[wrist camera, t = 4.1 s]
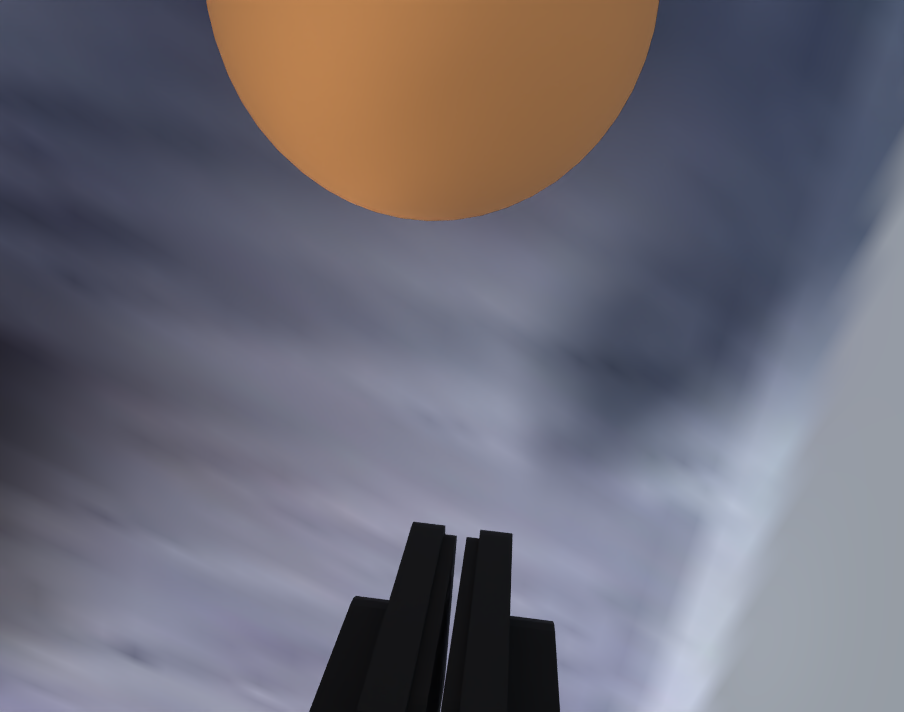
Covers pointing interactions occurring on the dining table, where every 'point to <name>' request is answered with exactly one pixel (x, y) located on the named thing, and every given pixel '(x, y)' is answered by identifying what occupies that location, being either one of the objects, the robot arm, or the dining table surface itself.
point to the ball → (434, 92)
